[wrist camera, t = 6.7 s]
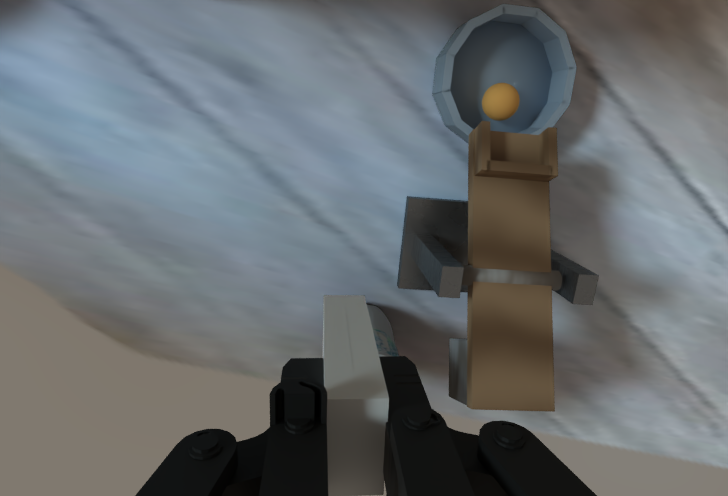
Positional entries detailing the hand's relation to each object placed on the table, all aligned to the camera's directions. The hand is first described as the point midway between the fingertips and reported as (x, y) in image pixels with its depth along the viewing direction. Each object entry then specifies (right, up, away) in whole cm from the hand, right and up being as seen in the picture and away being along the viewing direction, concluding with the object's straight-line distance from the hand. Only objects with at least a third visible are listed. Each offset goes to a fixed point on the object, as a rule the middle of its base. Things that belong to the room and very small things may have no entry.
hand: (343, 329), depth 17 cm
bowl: (+13, +18, +26) cm, 34 cm away
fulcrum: (+11, +3, +30) cm, 32 cm away
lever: (+12, +1, +26) cm, 28 cm away
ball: (+13, +16, +24) cm, 32 cm away
